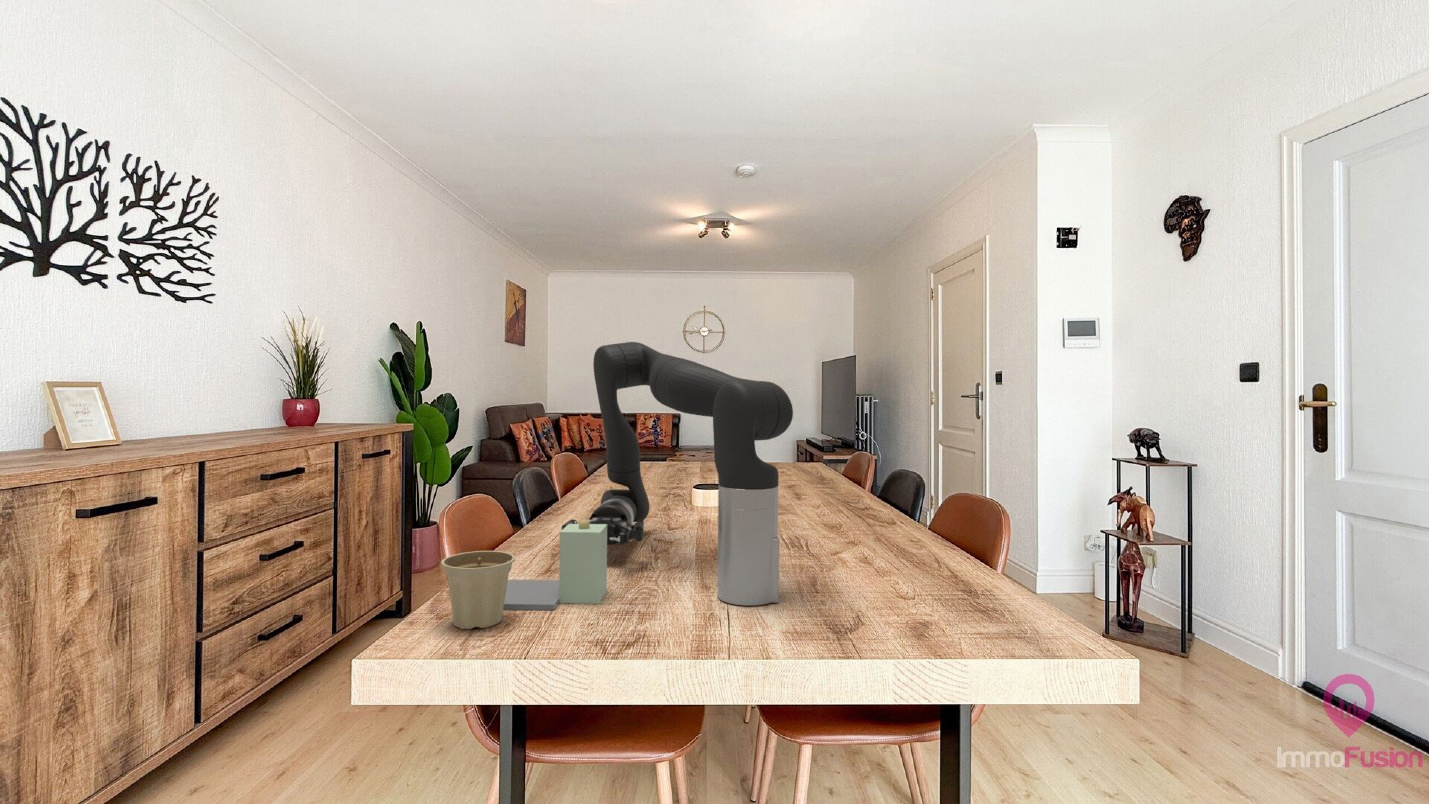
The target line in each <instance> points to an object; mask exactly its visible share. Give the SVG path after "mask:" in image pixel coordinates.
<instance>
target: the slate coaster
mask: <svg viewBox="0 0 1429 804" xmlns="http://www.w3.org/2000/svg"><path fill="white" fill-rule="evenodd" d="M559 605H560V603H559V579H557V580H556V579H555V580H554V579H508V581H507V588H506V594H505V601H504V608H503V611H504V610H505V611H507V610H508V611H509V610H510V611H511V610H512V611H515V610H516V611H520V610H521V611H555V610H556V608H557V607H558V606H559Z"/></svg>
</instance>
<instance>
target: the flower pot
mask: <svg viewBox="0 0 1429 804" xmlns="http://www.w3.org/2000/svg"><path fill="white" fill-rule="evenodd" d="M515 561H516V556H515V555H514V554H513V553H512V552H506V551H502V550H501V551H500V550H476V551H467V552H459V553H457V554H451V555H449V556H446V557H445V558H443V559H442V560H441V563H440V564H441V566H442V567H443V568H444V574H445V576H446V577H447V584H448V588H449V589H448V590H449V598H450V606H451V614H452V622H453V623H452V624H453V626H455V627H457V628H459V629H462V630H463V629H464V630H472V629H474V628H480V629H486V628H490V627H493V626H495V625H498V624H499V623H501V621H502V618H503V615H504V610H503V608H504V601H505V594H506V588H507V581H508V580H509V575H510V572H511V571H512V565H513V563H514V562H515Z"/></svg>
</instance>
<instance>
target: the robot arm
mask: <svg viewBox="0 0 1429 804" xmlns="http://www.w3.org/2000/svg"><path fill="white" fill-rule="evenodd" d="M593 376H594V381H595V387H596V392H597V393H596V394H597V399H598V400H597V401H598V404H599V410H600V414H601V415H600V416H601V419H602V425H603V430H604V436H605V445H606V447H605V448H606V471H607V478H608V480H609V481H610V482H612V483H614V484H617V485H620V486H621V485H622V486H624V487H625V488H627V489H621V488H620V489H619V488H618V489H616V488H615V489H608V490H606V491H604V493H603V494H602V496H601V499H600V505H599V506H598V507H597V508H596V509H594V511H593V512H592V513H591V515H590V517H589V520H590V524H607V546H610V545H612V546H613V545H616V544H618V543H619V545H620V547H621V546H622V547H623V546H625V545H626V544H629V543H630V542H633V539H635V541H636V542H642V541H643V539H644V536H645V519H647V517H648V515H649V513H650V500H649V497H648V494H647V492H646V488H645V485H644V482H643V479H642V474H641V452H640V451H641V450H640V449H641V448H640V443H639V439H638V436H637V434H636V432H635V431H634V429H633V428H632V425H630V424H629V422H628V421H627V419H626V417H625V416H624V414H623V413H622V410H621V408H620V405H619V403H618V390H620V389H626V388H627V389H628V388H633V387H639V386H649V388H650V393H652V394H651V395H652V396H653V397H654V399H655V400H656V401H657V402H658V403H660V404H662V405H663V406H665V407H667V408H670V409H672V410H675V411H678V412H680V413H683V414H688V415H695V416H700V417H701V416H702V417H710V418H712V431H713V450H714V451H713V452H714V453H713V455H714V458H713V459H714V464H715V468H716V471H717V476H718V481H717V482H718V497H717V498H718V500H717V501H718V504H717V506H718V507H717V508H718V510H717V511H718V512H717V513H718V514H717V515H718V516H717V580H716V581H717V582H716V583H717V584H716V587H717V588H716V589H717V592H716V594H717V598H718V599H719V600H720V601H723V602H725V603H727V604H731V605H735V606H736V605H737V606H761V605H767V604H770V603H774V604H775V603H776V604H777V603H779V602H780V542H781V541H780V538H779V479H780V478H779V477H780V476H779V470H778V468H777V467H776V466H775V465H774V464H771V463H768V462H766V461H764V460H762V459H761V458H759V456H758V455H757V451H756V441H768V440H771V439H774V438H775V439H776V438H777V437H780V436H781V435H783V433H785V432H786V431H787V430H788V429H789V427H790V426H791V423H792V421H793V418H794V417H793V416H794V410H793V409H794V408H793V404H792V401H791V399H790V397H789V395H788V394H787V392H786V391H785V390H784V389H783V388H782V387H781V386H780V385H778V384H776V383H774V382H772V381H765V380H752V379H746V378H741V377H738V376H733V375H731V374H727V373H726V372H723V371H721V370H719V369H716V368H712V367H710V366H707V365H704V364H701V363H698V362H695V361H692V360H689V359H687V358H682V357H677V356H674V355H672V354H671V355H669V354H666V353H662V352H660V351H657V350H656V349H653V348H651V347H650V346H648V345H646V344H643V343H641V342H637V341H625V342H619V343H613V344H611V343H610V344H607V345H606V344H604V345H601V346H599V347H598V348H597V349H596V350H595V352H594V356H593ZM568 524H578V521H577V519H574V518H573V519H569V520H568V521H566V522H565V523H564V524H562V525H561V531H562V530H563V529H564V528H565V527H566V526H567V525H568Z"/></svg>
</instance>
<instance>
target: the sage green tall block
mask: <svg viewBox="0 0 1429 804" xmlns="http://www.w3.org/2000/svg"><path fill="white" fill-rule="evenodd" d="M589 519H590V518H589ZM589 519H588V518H584V519H583V518H581V519H579V520H578V523H577V524H568V525H567V526H566V527H565V528H564V529H563V530H562V529H561V530H560V531H559V568H558V569H559V573H558V574H559V575H558V577H559V578H558V580H559V604H565V603H567V604H568V603H570V605H572V604H573V603H574V605H575V604H577V605H578V604H579V605H581V604H584V605H588V604H589V605H591V604H592V605H600V604H601V603H602V601H603V599H604V597H605V595H606V593H607V589H608V578H607V577H608V571H607V570H608V545H607V524H590V520H589ZM571 603H572V604H571Z"/></svg>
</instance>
